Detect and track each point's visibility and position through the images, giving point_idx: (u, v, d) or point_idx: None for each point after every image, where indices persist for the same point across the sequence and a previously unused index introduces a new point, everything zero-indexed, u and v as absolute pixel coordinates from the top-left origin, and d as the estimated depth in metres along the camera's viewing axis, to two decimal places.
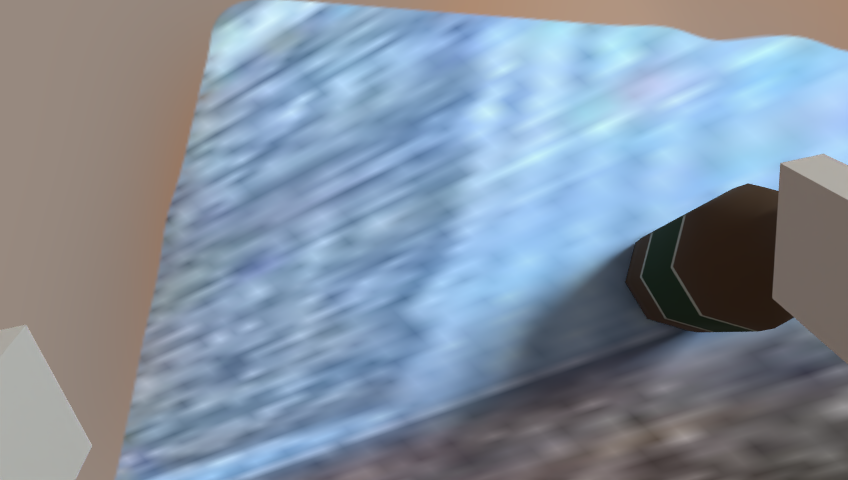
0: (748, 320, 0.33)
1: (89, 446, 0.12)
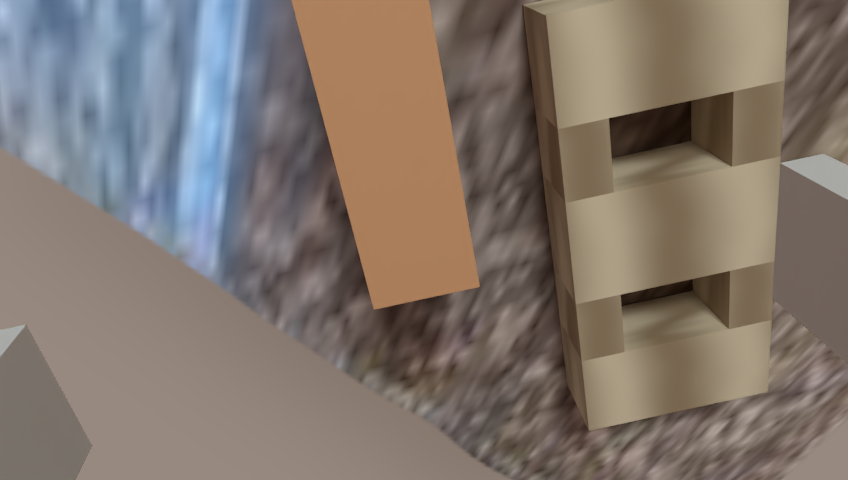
0: None
1: (89, 446, 0.12)
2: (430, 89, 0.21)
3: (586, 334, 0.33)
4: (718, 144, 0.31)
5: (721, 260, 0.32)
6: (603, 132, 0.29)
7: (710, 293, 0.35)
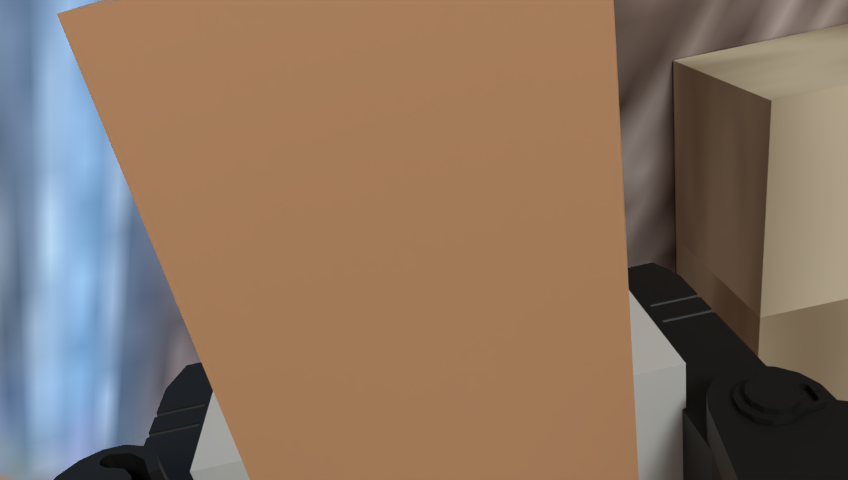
0: None
1: None
2: (590, 396, 0.07)
3: None
4: None
5: None
6: (846, 320, 0.14)
7: None
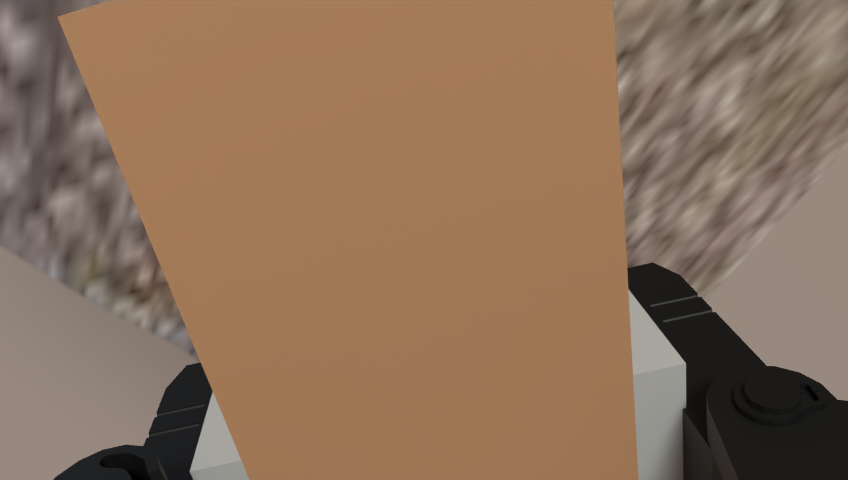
0: None
1: None
2: (590, 396, 0.07)
3: None
4: None
5: None
6: None
7: None
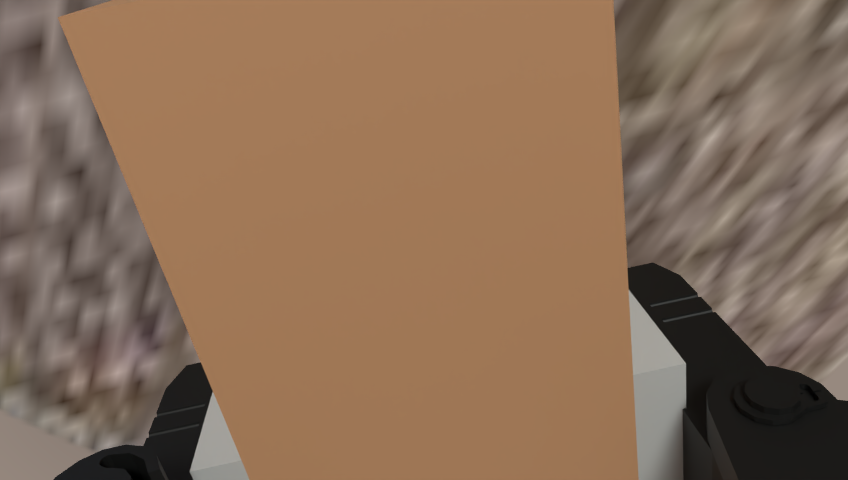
0: None
1: None
2: (590, 397, 0.07)
3: None
4: None
5: None
6: None
7: None
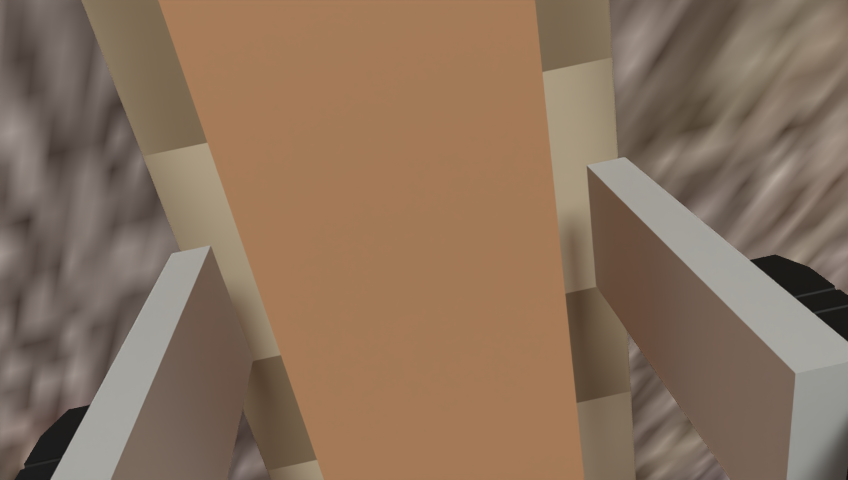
0: None
1: (251, 360, 0.14)
2: (531, 278, 0.09)
3: (263, 422, 0.17)
4: None
5: None
6: None
7: None
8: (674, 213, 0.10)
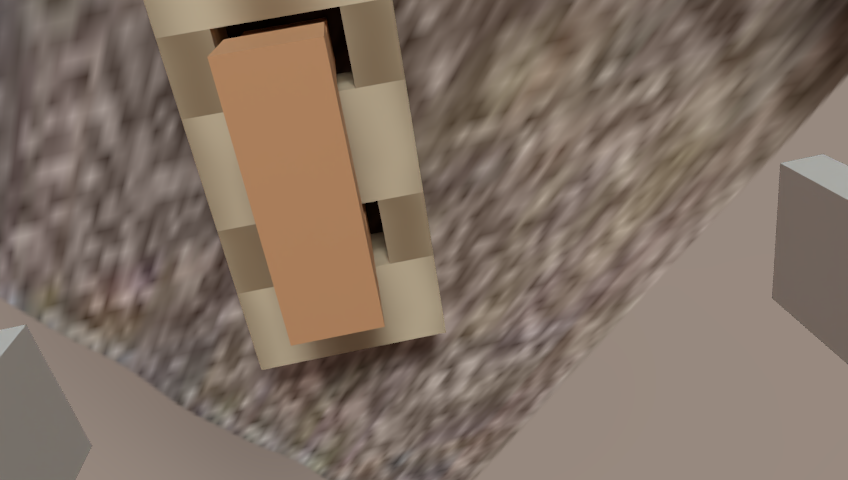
0: None
1: (88, 446, 0.12)
2: (337, 160, 0.24)
3: (236, 264, 0.32)
4: None
5: (365, 189, 0.31)
6: (206, 44, 0.28)
7: None
8: None
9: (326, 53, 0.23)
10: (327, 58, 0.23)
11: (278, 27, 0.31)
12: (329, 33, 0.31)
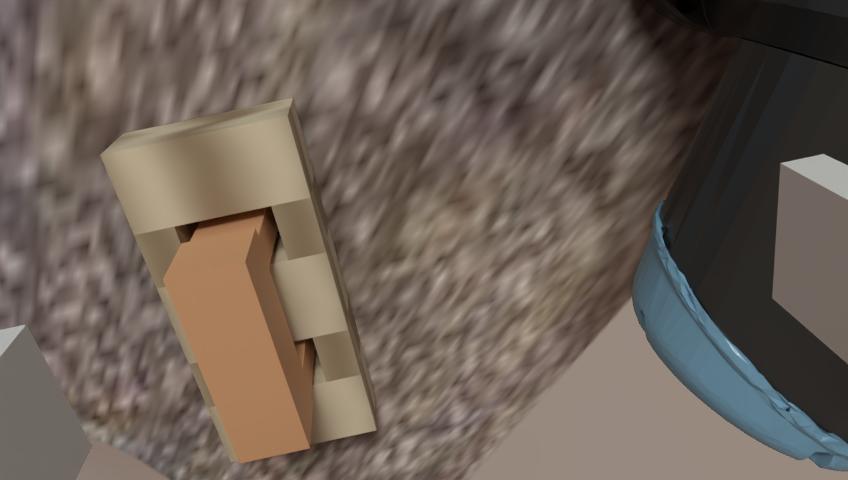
0: None
1: (89, 447, 0.12)
2: (262, 339, 0.33)
3: (205, 387, 0.41)
4: None
5: (302, 329, 0.40)
6: (172, 236, 0.37)
7: None
8: None
9: (248, 272, 0.32)
10: (249, 275, 0.32)
11: None
12: (271, 209, 0.40)
